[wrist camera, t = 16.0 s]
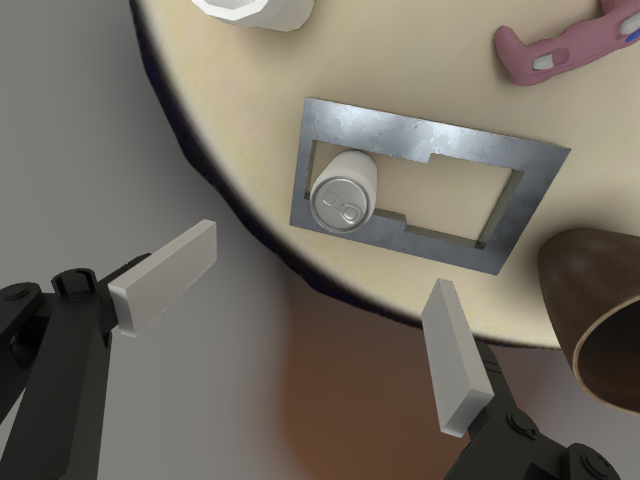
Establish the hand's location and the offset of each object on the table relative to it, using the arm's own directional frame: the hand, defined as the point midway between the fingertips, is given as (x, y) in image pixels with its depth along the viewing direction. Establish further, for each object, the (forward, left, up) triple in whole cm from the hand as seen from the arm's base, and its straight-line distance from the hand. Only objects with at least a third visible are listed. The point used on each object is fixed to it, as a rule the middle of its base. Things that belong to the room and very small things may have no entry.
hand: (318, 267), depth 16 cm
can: (0, 0, -23) cm, 23 cm away
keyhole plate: (-7, 0, -23) cm, 24 cm away
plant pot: (-29, +4, -23) cm, 37 cm away
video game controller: (-15, -17, -23) cm, 32 cm away
